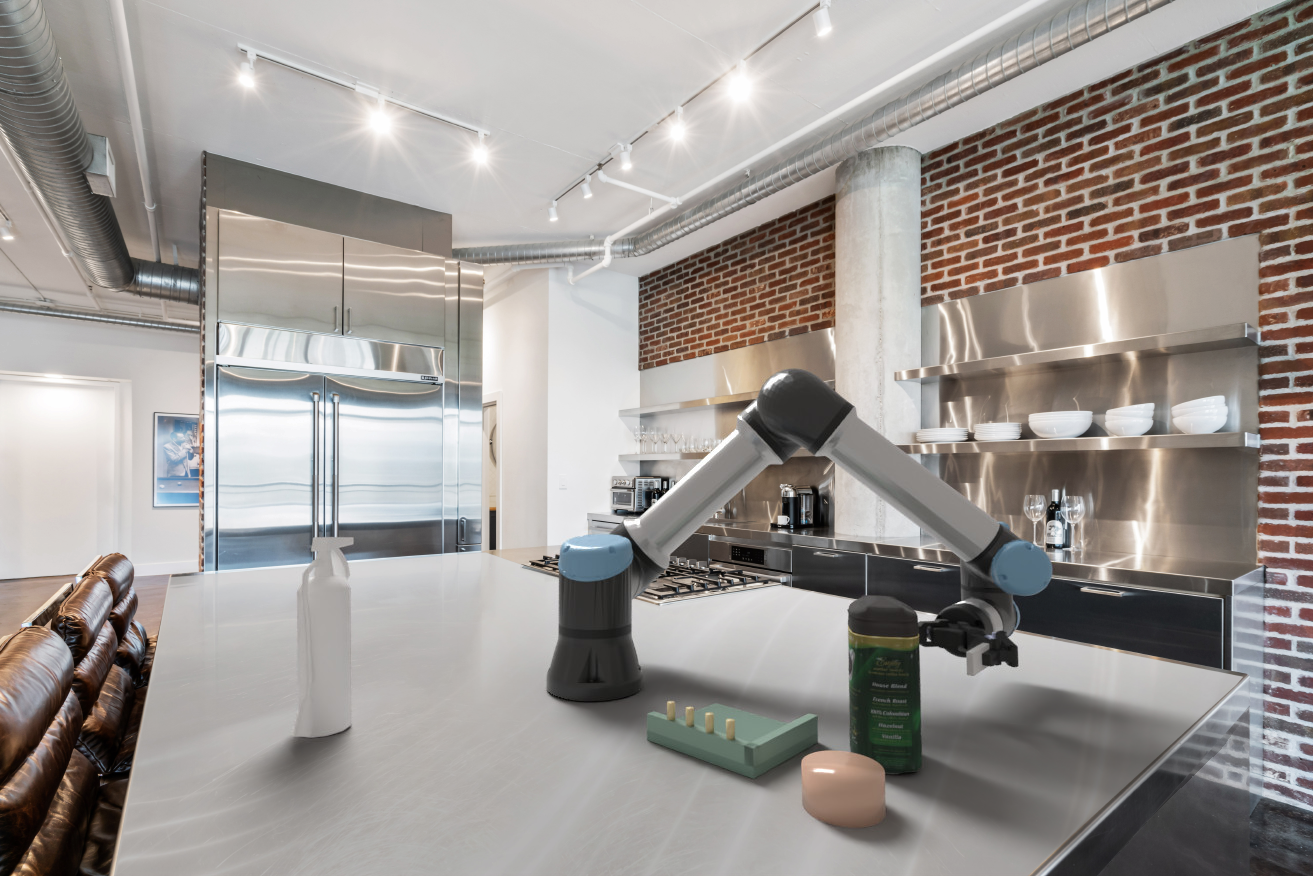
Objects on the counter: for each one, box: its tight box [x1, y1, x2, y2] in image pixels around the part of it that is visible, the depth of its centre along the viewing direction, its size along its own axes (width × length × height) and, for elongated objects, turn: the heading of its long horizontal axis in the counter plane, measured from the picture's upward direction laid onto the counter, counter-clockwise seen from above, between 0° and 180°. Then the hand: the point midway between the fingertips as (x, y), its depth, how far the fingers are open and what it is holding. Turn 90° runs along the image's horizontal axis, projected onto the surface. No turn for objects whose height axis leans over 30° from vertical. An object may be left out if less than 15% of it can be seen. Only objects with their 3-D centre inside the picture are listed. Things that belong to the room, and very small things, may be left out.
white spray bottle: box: [290, 536, 355, 739], centre depth 85 cm, size 7×12×25 cm, turn 176°
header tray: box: [646, 700, 819, 779], centre depth 82 cm, size 16×14×5 cm
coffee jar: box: [847, 594, 923, 775], centre depth 77 cm, size 10×8×19 cm
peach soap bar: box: [800, 750, 887, 829], centre depth 65 cm, size 8×8×4 cm
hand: (913, 654), depth 83 cm, fingers open, 13 cm apart
